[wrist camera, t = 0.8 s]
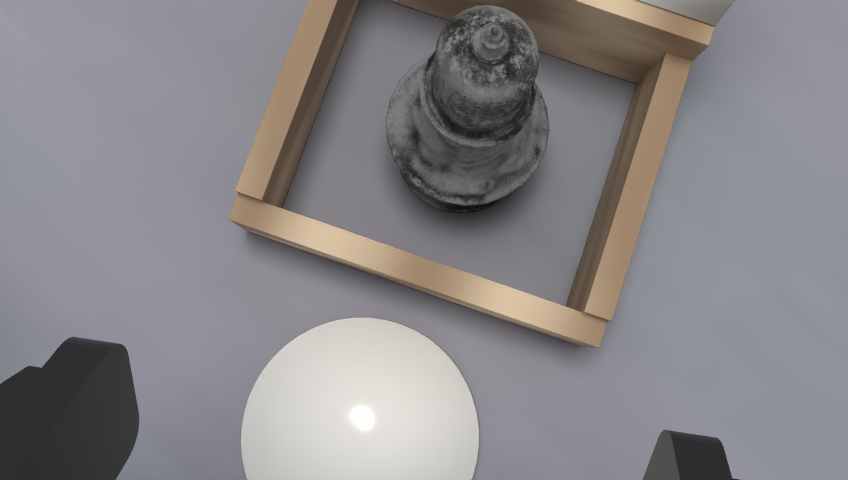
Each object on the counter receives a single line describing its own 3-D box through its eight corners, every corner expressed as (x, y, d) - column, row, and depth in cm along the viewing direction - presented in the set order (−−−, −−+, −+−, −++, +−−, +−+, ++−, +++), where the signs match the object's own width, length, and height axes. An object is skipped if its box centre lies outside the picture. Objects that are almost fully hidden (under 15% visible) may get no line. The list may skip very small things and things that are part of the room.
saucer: (210, 510, 28) (205, 514, 27) (292, 286, 29) (290, 285, 29) (433, 589, 28) (434, 595, 27) (507, 361, 29) (510, 362, 28)
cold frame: (246, 230, 29) (38, 101, 13) (375, -110, 31) (339, -603, 15) (579, 346, 29) (805, 366, 13) (689, -4, 31) (1012, -386, 14)
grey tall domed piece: (455, 250, 30) (488, 195, 18) (358, 143, 30) (325, 19, 18) (562, 154, 30) (663, 38, 18) (465, 50, 31) (501, -129, 19)
